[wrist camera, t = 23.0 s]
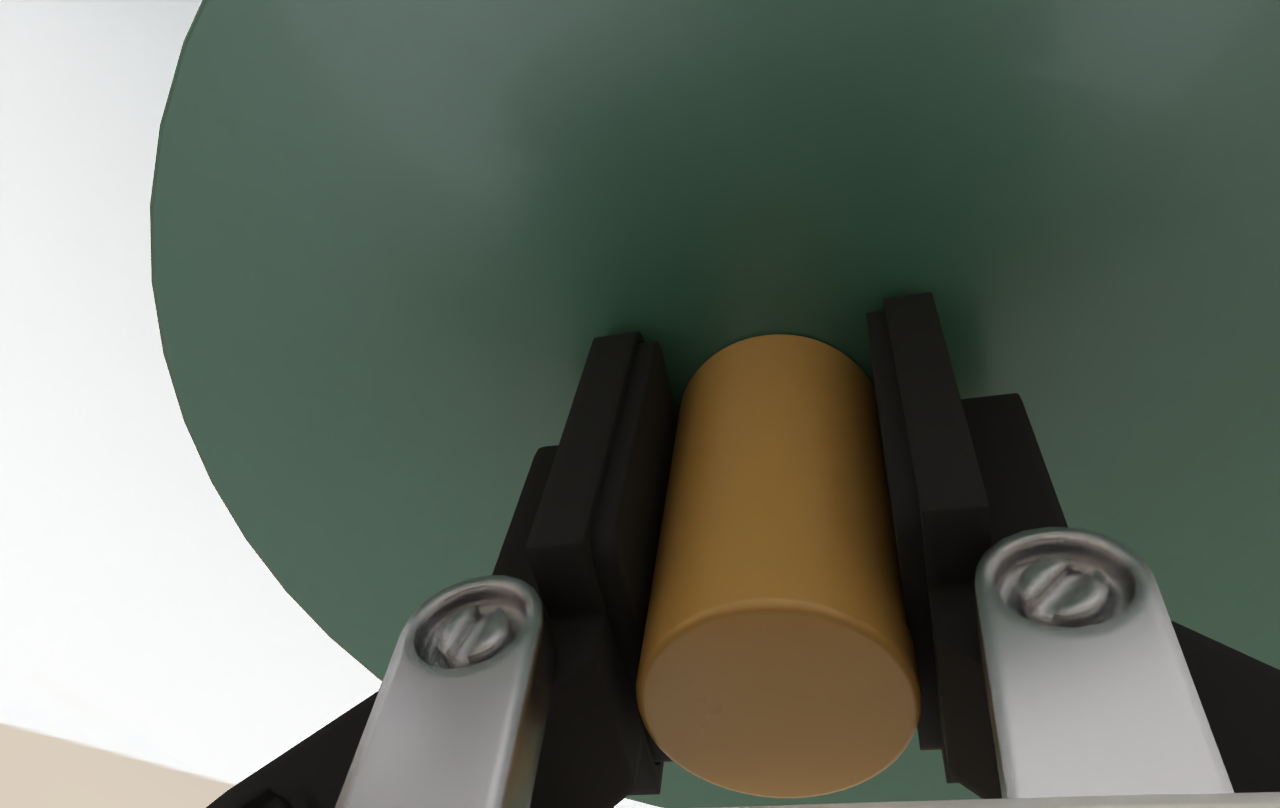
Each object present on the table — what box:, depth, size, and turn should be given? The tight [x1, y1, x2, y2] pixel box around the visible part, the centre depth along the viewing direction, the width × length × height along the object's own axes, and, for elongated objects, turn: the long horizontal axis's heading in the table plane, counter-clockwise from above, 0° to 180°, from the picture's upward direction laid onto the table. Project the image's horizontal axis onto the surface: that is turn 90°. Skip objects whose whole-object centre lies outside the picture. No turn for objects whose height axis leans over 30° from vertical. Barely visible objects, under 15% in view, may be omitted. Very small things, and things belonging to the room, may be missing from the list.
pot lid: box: [150, 0, 1280, 808], centre depth 11 cm, size 16×16×6 cm
